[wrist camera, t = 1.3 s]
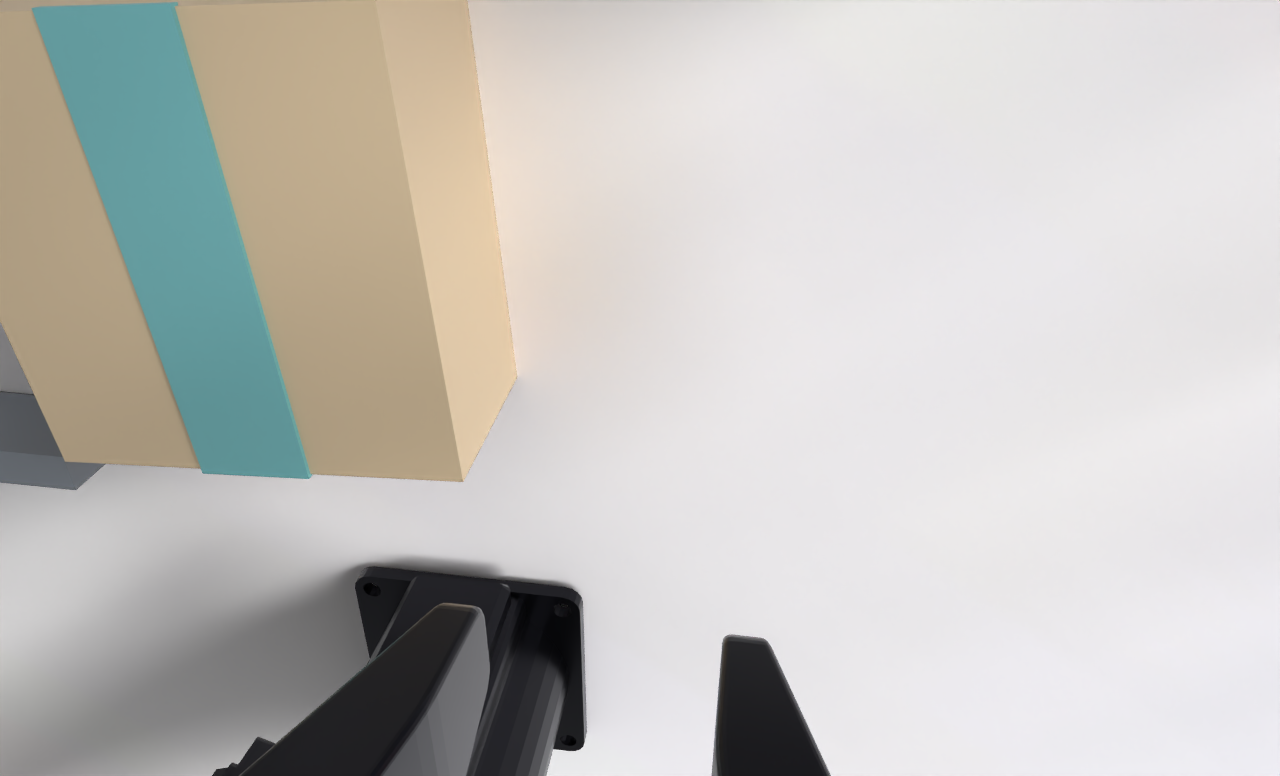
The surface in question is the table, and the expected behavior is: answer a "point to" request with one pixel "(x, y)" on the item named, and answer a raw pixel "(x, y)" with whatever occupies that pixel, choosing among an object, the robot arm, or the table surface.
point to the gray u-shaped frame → (34, 448)
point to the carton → (252, 234)
